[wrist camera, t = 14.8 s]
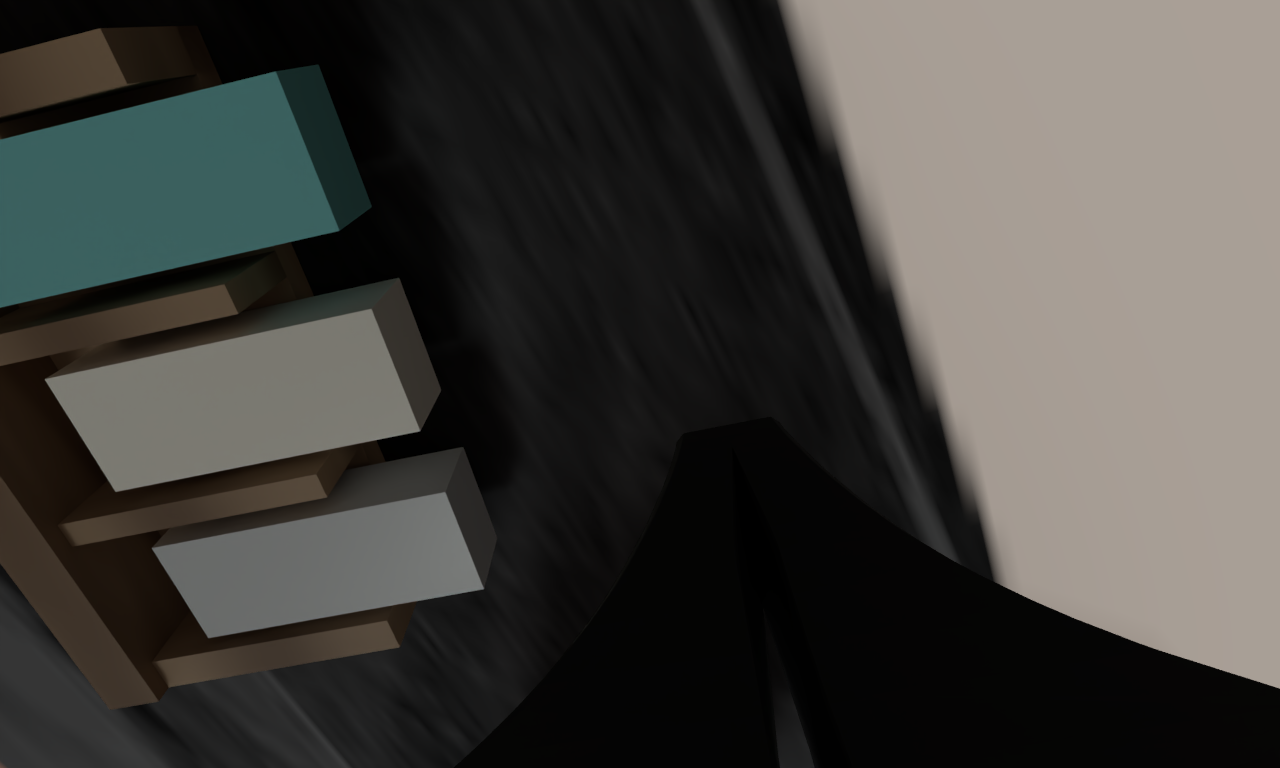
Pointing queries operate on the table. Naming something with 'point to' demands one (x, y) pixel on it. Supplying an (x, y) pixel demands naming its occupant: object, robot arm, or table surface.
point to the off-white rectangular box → (252, 386)
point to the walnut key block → (62, 463)
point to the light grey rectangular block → (338, 548)
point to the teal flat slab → (174, 184)
